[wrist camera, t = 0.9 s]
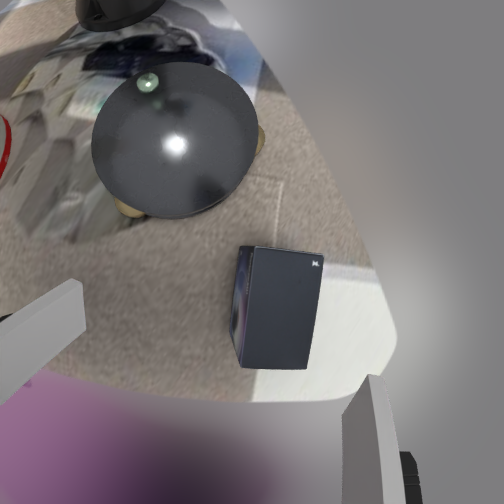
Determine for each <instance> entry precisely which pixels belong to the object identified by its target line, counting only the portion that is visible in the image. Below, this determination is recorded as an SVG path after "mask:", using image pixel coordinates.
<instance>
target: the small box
mask: <svg viewBox="0 0 504 504" xmlns="http://www.w3.org/2000/svg"><path fill="white" fill-rule="evenodd" d="M323 262H324V255H323V254H321V253H311V252H304V251H295V250H287V249H279V248H271V247H263V246H240V249H239V256H238V263H237V271H236V279H235V287H234V295H233V303H232V312H231V321H230V336H231V339H232V342H233V345H234V348H235V351H236V354H237V357H238V361H239V364H240V367H241V368H250V369H281V370H302V369H307V364H308V359H309V354H310V348H311V343H312V337H313V331H314V325H315V320H316V313H317V306H318V299H319V293H320V286H321V278H322V271H323Z"/></svg>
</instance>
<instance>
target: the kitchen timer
mask: <svg viewBox="0 0 504 504" xmlns="http://www.w3.org/2000/svg"><path fill="white" fill-rule="evenodd" d="M11 140H12V139H11V128H10V126H9V124H8V121H7V120H6V119H5V118H4V117H2V116H1V115H0V178H1V176H2V174H3V171H4V169H5V167H6V164H7V161H8V157H9V154H10V148H11Z"/></svg>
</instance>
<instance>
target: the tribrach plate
mask: <svg viewBox="0 0 504 504" xmlns="http://www.w3.org/2000/svg"><path fill="white" fill-rule="evenodd" d="M264 142H265V134H264V131H263V129H262V128H261V127H260V126H259V125H258V120H257V115H256V112H255V109H254V106H253V104H252V102H251V100H250V98H249V97H248V95H247V94H246V92H245V91H244V90H243V88H242V87H241V86H240V85H239V84H238V83H237V82H236V81H234V80H233V79H232V78H231V77H229V76H228V75H226V74H224V73H223V72H221V71H219V70H217V69H214V68H212V67H209V66H206V65H202V64H197V63H191V62H174V63H166V64H161V65H157V66H154V67H151V68H148V69H146V70H143V71H141V72H139V73H137V74H136V75H134V76H132V77H131V78H129V79H128V80H126V81H125V82H123V83H122V84H121V85H120V86H119V87H118V88H117V89H116V90H115V91H114V92H113V93H112V94H111V95H110V96H109V98H108V99H107V101H106V102H105V103H104V105H103V107H102V108H101V110H100V112H99V114H98V116H97V119H96V122H95V125H94V129H93V133H92V142H91V146H92V157H93V162H94V166H95V168H96V171H97V174H98V176H99V177H100V179H101V181H102V183H103V184H104V185H105V187H106V188H107V189H108V190H109V191H110V192H111V193H112V194H113V195H114V196H115V204H116V207H117V209H118V210H119V211H120V212H121V213H122V214H124V215H126V216H129V217H132V218H139V217H142V216H144V215H148V216H151V217H156V218H161V219H183V218H188V217H193V216H196V215H199V214H202V213H204V212H206V211H208V210H210V209H212V208H214V207H215V206H217V205H219V204H220V203H221V202H223V201H224V200H225V199H226V198H227V197H229V195H230V194H231V193H232V192H233V191H234V190H235V189H236V187H237V186H238V185H239V183H240V182H241V180H242V179H243V177H244V176H245V174H246V172H247V171H248V169H249V167H250V165H251V163H252V161H253V158H254V156H255V155H256V154H257V153H258V152H259V151H260V149H261V148H262V146H263V144H264Z"/></svg>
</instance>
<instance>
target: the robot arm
mask: <svg viewBox="0 0 504 504" xmlns="http://www.w3.org/2000/svg"><path fill="white" fill-rule="evenodd" d="M164 1H165V0H76V10H75V11H76V16H77V18H78V20H79V23H80V24H81V26H82V27H84V28H85V29H87V30H91V31H110V30H115V29H120V28H123V27H126V26H129V25H132V24H134V23H136V22H139V21H141V20H142V19H144V18H146V17H148V16H149V15H151V14H152V13H154V12H155V11H156V10H157V9H158V8H159V7H160V6H161V5H162V4H163V3H164ZM85 330H86V321H85V311H84V300H83V286H82V283H81V282H79V281H77V280H75V279H73V278H71V279H69V280H67V281H65V282H64V283H62V284H60V285H59V286H57V287H55V288H54V289H52V290H50V291H49V292H47V293H46V294H44V295H42V296H41V297H39V298H37V299H36V300H34V301H33V302H31V303H29V304H28V305H26V306H25V307H23V308H22V309H20V310H19V311H17V312H15V313H14V314H13V313H12V314H9V315H5V316H2V317H1V318H0V405H2V404H3V403H4V402H5V401H7V400H8V399H9V398H10V397H11V396H12V395H13V394H14V393H15V392H16V391H17V390H18V389H19V388H20V387H22V386H23V385H24V384H25V383H26V382H27V381H28V380H29V379H30V378H31V377H32V376H33V375H35V374H36V373H37V372H38V371H39V370H40V369H41V368H43V367H44V366H45V365H46V364H47V363H48V362H49V361H50V360H52V359H53V358H54V357H55V356H56V355H57V354H58V353H60V352H61V351H62V350H63V349H64V348H65V347H66V346H68V345H69V344H70V343H71V342H72V341H73V340H75V339H76V338H77V337H78V336H79V335H81V334H82V333H83V332H84V331H85ZM342 440H343V441H342V442H343V443H342V445H343V471H342V473H343V474H342V504H423V503H422V495H421V488H420V486H419V484H420V481H419V476H418V470H417V464H416V461H415V460H414V458H413V456H412V455H411V453H410V452H400V451H399V449H398V442H397V437H396V431H395V426H394V421H393V416H392V411H391V406H390V402H389V397H388V392H387V388H386V384H385V379H384V377H382V376H377V375H371V374H368V375H367V376H366V378H365V380H364V381H363V383H362V385H361V386H360V388H359V390H358V391H357V393H356V394H355V396H354V398H353V399H352V401H351V402H350V404H349V405H348V407H347V409H346V410H345V411H344V413H343V414H342Z"/></svg>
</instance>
